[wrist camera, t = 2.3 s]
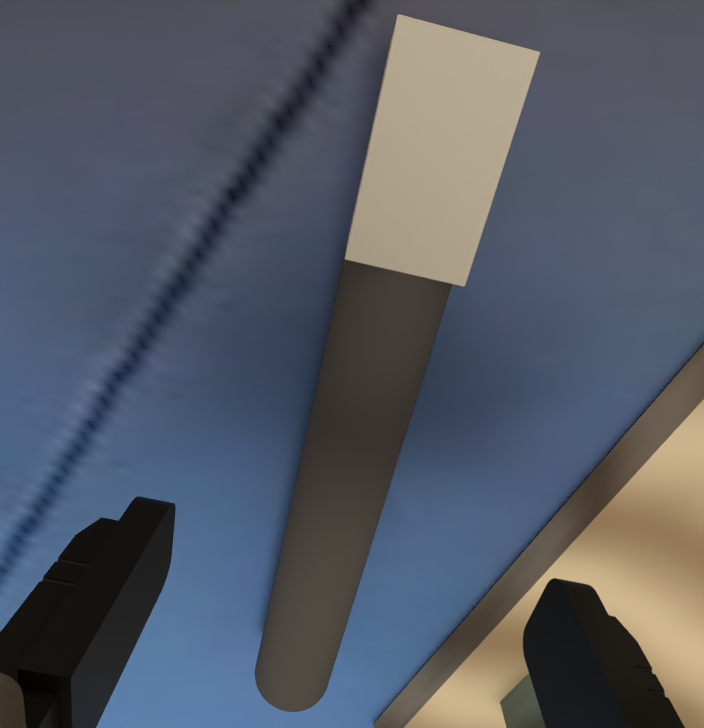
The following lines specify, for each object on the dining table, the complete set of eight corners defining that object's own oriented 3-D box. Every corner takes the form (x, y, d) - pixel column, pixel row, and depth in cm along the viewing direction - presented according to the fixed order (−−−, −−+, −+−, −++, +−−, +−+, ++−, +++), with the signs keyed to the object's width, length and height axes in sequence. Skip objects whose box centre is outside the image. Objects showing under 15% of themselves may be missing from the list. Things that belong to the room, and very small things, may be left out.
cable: (330, 644, 21) (326, 717, 18) (262, 633, 21) (247, 705, 18) (500, 76, 13) (539, 52, 10) (389, 46, 12) (398, 13, 10)
